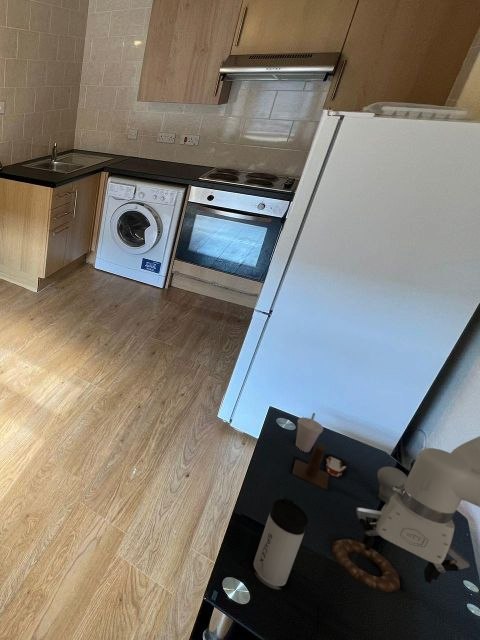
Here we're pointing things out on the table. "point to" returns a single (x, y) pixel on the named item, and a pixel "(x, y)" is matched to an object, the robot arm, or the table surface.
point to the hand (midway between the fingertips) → (395, 561)
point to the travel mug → (280, 543)
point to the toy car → (334, 466)
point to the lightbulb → (389, 481)
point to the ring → (384, 583)
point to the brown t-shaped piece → (312, 469)
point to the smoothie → (307, 433)
